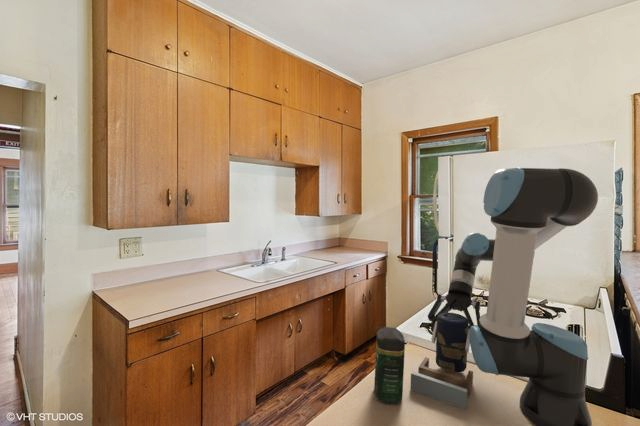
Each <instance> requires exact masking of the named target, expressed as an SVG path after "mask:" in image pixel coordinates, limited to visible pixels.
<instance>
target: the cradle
mask: <svg viewBox="0 0 640 426" xmlns="http://www.w3.org/2000/svg"><path fill="white" fill-rule="evenodd" d="M417 373H420V374H423V375H426V376H429V377H432V378H435V379H438V380H441V381H444V382H447V383H450V384H453V385H456V386H459V387H462V388H465V389H468V390H467V398H468V397H469V396H470V393H471V390H472V388H473V383H474V382H473V381H474V371H473V370H468V372H467V374H466V377H465V378H464V377H460V376H456V375H453V374H450V373H447V372H444V371H440V370H439V369H438V370H437V369H435V368H431V367H430V358H429V357H426V356H425V357H424V358H423V360H422V361H421V363H420V364H419V365H418V371H417Z"/></svg>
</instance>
